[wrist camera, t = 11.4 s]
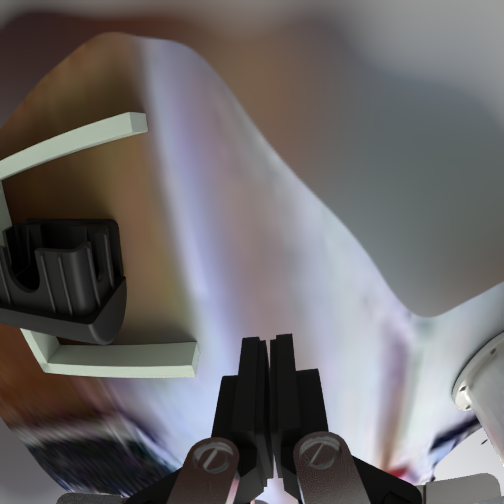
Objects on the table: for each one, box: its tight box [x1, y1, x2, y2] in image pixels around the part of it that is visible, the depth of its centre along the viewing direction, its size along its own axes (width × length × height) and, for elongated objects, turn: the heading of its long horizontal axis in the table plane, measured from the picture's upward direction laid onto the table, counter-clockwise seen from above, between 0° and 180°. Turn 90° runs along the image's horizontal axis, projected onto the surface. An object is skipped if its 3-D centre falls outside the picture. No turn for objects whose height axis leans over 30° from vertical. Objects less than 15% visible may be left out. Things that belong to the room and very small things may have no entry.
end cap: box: [0, 219, 127, 345], centre depth 18 cm, size 10×7×7 cm
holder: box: [0, 112, 200, 378], centre depth 20 cm, size 15×18×3 cm
